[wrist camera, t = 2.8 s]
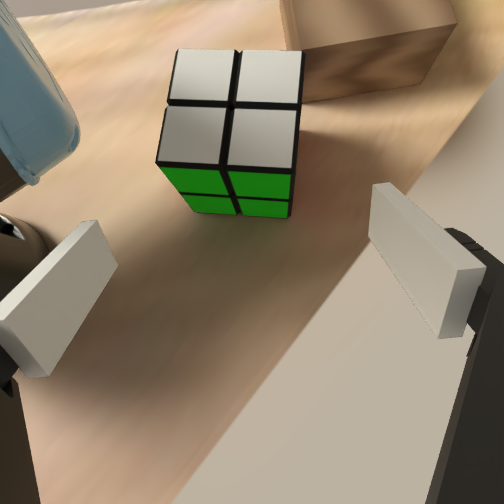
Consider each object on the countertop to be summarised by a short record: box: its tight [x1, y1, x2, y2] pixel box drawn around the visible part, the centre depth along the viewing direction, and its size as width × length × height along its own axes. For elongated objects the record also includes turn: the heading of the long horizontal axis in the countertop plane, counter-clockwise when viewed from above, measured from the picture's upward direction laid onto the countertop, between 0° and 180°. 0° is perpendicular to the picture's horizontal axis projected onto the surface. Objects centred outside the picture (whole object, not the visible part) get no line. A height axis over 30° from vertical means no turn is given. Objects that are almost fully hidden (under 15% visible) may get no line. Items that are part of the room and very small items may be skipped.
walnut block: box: [280, 0, 457, 103], centre depth 30 cm, size 13×13×7 cm
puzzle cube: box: [155, 49, 306, 218], centre depth 26 cm, size 10×10×10 cm
